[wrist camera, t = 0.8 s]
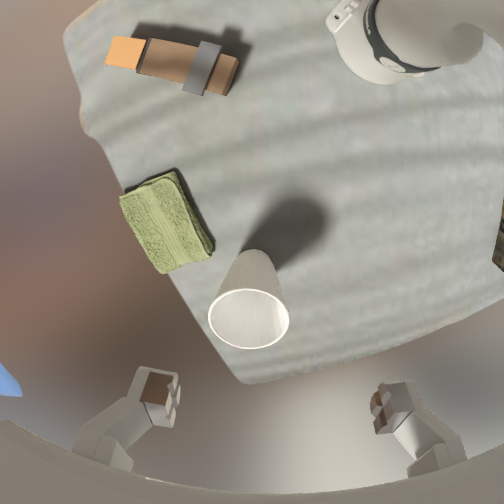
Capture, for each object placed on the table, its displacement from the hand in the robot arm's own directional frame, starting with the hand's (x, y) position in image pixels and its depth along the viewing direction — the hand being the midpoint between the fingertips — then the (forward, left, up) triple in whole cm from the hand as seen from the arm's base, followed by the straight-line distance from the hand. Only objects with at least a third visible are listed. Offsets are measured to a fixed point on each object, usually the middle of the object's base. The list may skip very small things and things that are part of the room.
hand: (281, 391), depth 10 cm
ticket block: (-11, -18, -41) cm, 46 cm away
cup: (+19, +4, -41) cm, 46 cm away
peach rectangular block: (-11, -28, -41) cm, 51 cm away
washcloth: (+17, -14, -42) cm, 47 cm away
